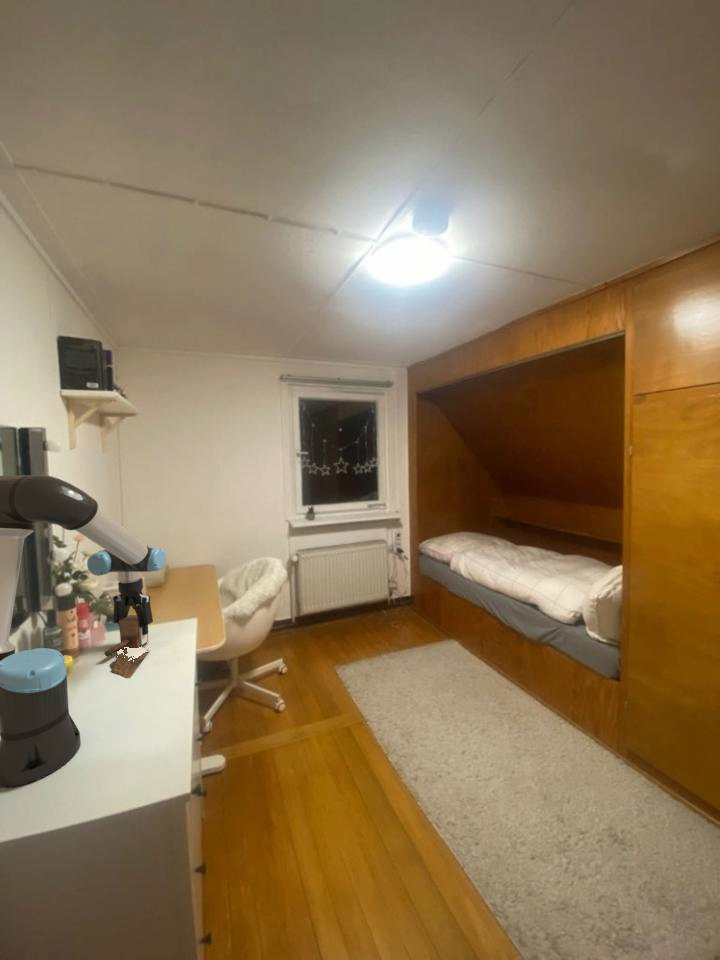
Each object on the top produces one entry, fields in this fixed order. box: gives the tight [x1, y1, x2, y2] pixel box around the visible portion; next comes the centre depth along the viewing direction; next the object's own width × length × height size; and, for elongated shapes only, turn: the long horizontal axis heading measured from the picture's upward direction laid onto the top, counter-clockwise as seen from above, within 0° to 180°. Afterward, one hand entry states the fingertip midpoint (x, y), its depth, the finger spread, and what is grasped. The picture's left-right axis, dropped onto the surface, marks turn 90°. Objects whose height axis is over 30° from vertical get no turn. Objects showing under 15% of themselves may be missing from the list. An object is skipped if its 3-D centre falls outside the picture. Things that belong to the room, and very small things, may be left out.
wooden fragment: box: [109, 648, 150, 679], centre depth 129 cm, size 26×11×1 cm, turn 24°
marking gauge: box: [104, 614, 149, 658], centre depth 134 cm, size 14×7×10 cm, turn 168°
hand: (134, 642), depth 139 cm, fingers closed on marking gauge, 7 cm apart
